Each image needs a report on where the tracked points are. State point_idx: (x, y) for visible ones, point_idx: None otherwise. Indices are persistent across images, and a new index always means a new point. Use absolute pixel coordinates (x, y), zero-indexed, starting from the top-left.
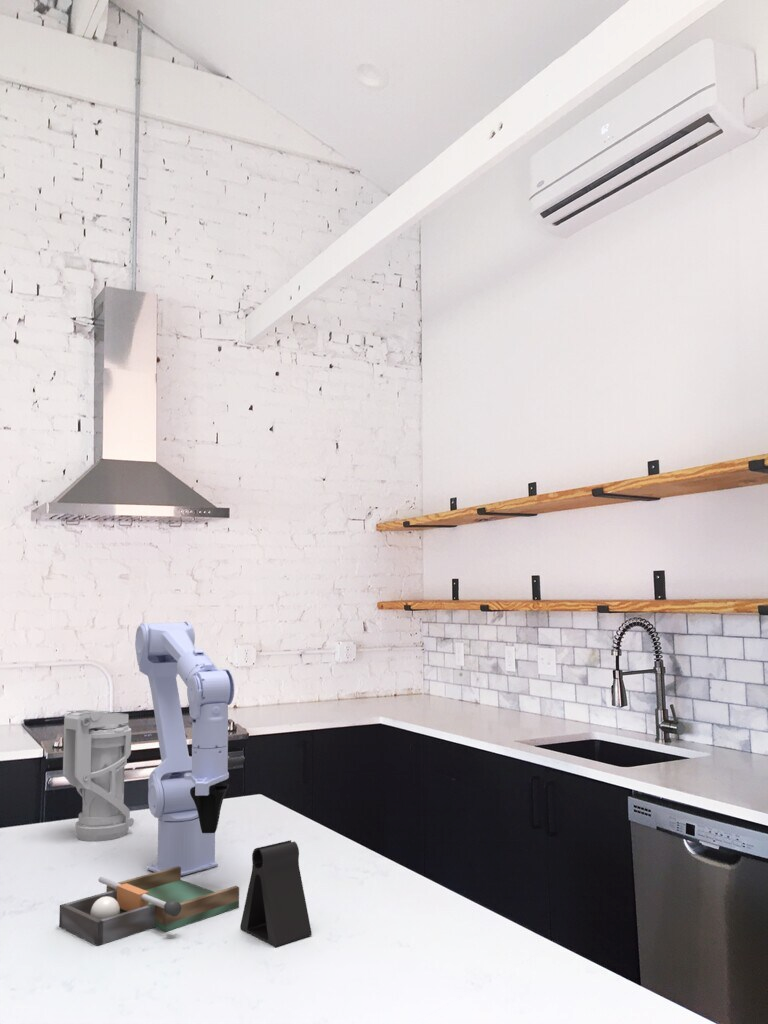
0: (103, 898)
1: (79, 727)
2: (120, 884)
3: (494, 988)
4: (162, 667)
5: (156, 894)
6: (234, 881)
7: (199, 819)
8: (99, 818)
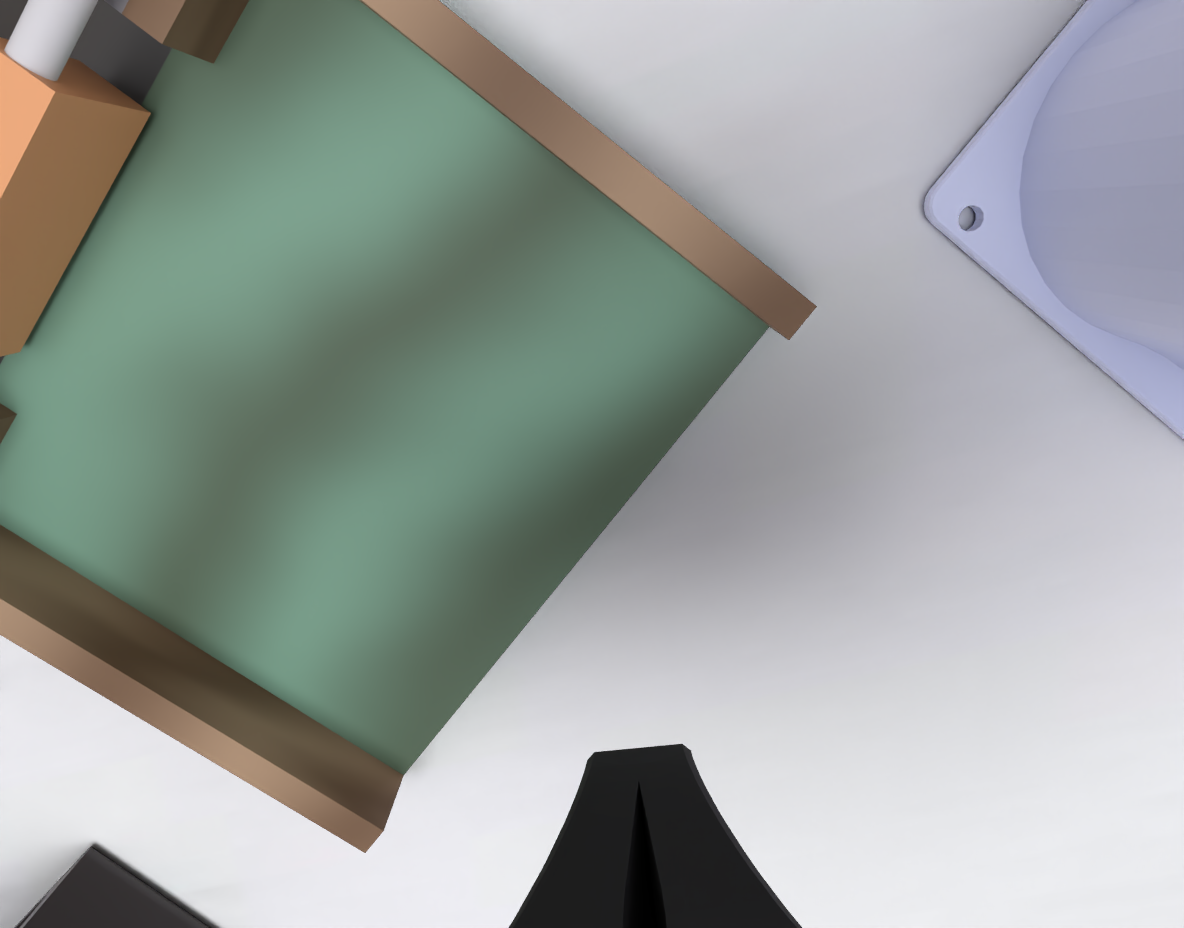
0: None
1: None
2: (27, 41)
3: None
4: None
5: (428, 256)
6: (860, 643)
7: (552, 851)
8: None
